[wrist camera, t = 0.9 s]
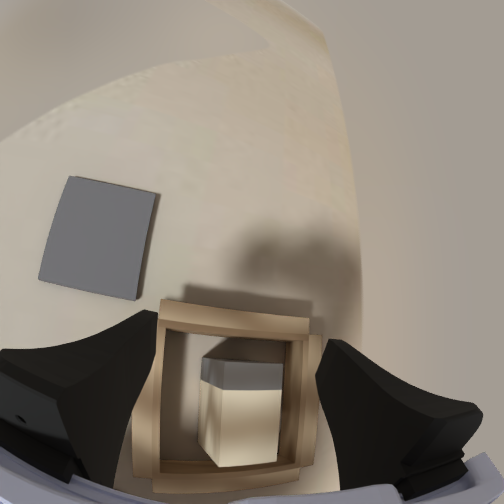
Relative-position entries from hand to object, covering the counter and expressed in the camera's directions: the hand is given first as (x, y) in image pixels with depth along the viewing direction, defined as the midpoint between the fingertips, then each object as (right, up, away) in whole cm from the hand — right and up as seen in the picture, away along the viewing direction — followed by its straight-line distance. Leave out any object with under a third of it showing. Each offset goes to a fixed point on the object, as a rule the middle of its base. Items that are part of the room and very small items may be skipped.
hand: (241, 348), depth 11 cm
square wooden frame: (-2, -9, +11) cm, 15 cm away
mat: (-13, +5, +11) cm, 18 cm away
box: (-2, -9, +11) cm, 15 cm away
